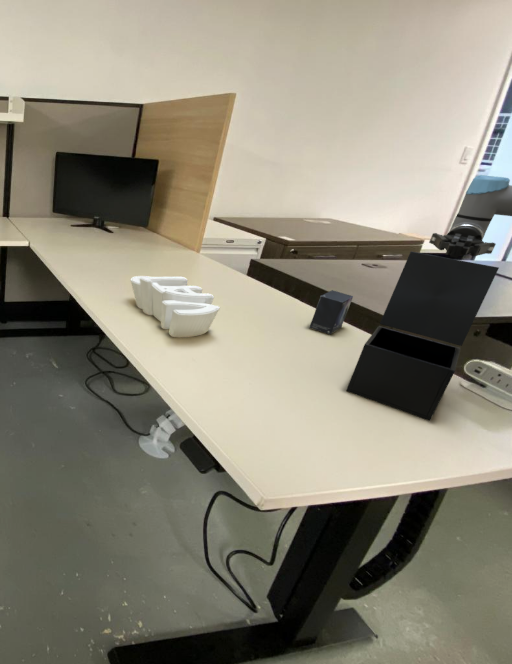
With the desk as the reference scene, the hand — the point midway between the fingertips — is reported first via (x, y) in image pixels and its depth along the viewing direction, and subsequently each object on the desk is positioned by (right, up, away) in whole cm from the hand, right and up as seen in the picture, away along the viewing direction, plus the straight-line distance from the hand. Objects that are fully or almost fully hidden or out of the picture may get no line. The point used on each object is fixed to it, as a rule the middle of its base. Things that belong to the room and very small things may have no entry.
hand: (456, 251), depth 107 cm
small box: (-9, -17, +35) cm, 40 cm away
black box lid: (-6, -11, -2) cm, 13 cm away
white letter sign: (-58, -14, +32) cm, 67 cm away
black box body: (-15, -32, 0) cm, 35 cm away
